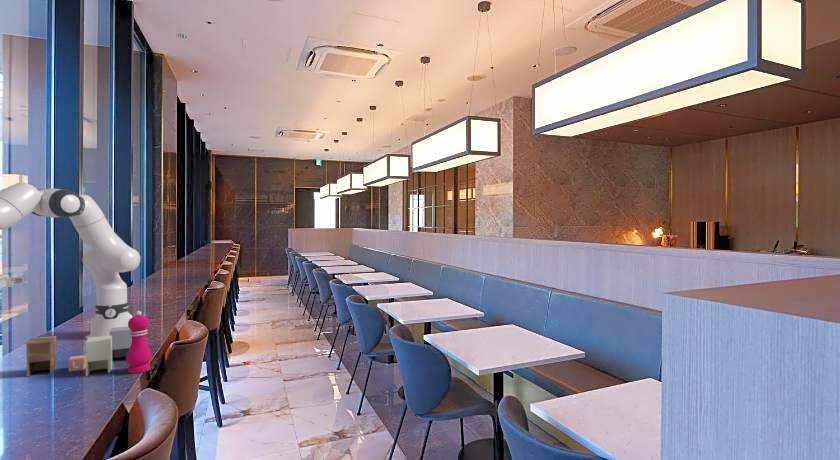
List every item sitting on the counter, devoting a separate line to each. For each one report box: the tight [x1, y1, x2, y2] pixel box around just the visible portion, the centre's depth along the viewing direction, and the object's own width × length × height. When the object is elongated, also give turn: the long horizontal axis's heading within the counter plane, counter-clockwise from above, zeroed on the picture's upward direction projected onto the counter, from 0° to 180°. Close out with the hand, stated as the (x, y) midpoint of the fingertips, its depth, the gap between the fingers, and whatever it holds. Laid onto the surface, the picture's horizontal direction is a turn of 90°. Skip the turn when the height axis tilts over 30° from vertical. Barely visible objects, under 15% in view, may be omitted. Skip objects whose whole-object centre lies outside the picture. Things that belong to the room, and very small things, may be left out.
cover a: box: [25, 335, 57, 378], centre depth 149 cm, size 6×6×11 cm
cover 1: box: [84, 335, 113, 377], centre depth 150 cm, size 6×6×11 cm
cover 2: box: [109, 327, 132, 361], centre depth 163 cm, size 6×6×11 cm
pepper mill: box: [125, 310, 153, 375], centre depth 151 cm, size 7×7×20 cm
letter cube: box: [68, 354, 86, 372], centre depth 152 cm, size 4×4×4 cm
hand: (18, 281), depth 149 cm, fingers open, 8 cm apart
